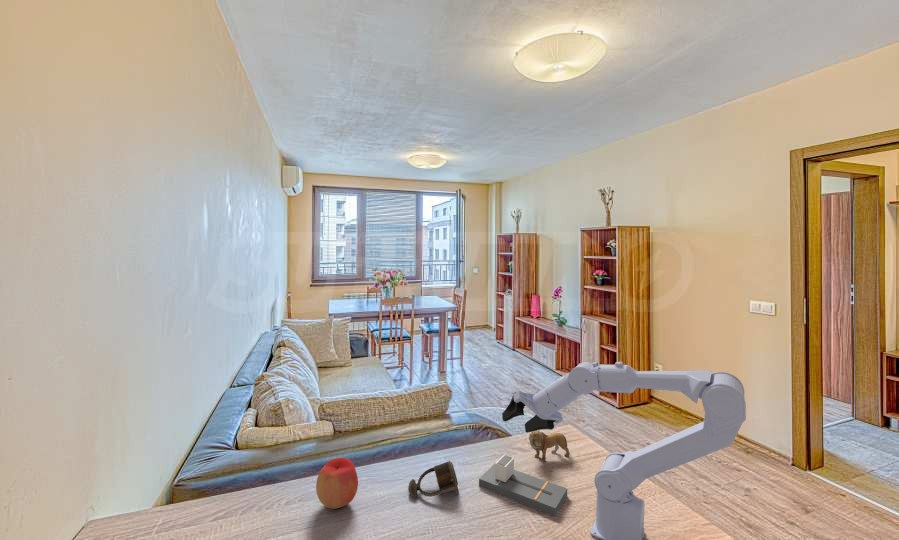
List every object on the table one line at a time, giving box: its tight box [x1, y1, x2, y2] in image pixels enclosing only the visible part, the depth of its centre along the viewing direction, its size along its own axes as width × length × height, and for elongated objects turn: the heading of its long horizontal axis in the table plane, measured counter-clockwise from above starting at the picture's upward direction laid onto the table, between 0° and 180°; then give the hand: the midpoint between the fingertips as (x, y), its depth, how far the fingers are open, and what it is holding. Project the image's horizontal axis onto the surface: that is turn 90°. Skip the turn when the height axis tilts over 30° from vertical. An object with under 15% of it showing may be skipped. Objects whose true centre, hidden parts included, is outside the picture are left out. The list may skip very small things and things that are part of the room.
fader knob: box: [494, 454, 515, 482], centre depth 100 cm, size 3×5×4 cm, turn 146°
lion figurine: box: [528, 430, 570, 463], centre depth 113 cm, size 15×5×9 cm, turn 118°
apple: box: [315, 457, 359, 510], centre depth 91 cm, size 10×10×10 cm
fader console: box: [478, 463, 568, 518], centre depth 97 cm, size 20×9×2 cm, turn 56°
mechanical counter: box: [407, 460, 460, 498], centre depth 97 cm, size 7×13×10 cm
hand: (514, 423), depth 96 cm, fingers open, 7 cm apart
